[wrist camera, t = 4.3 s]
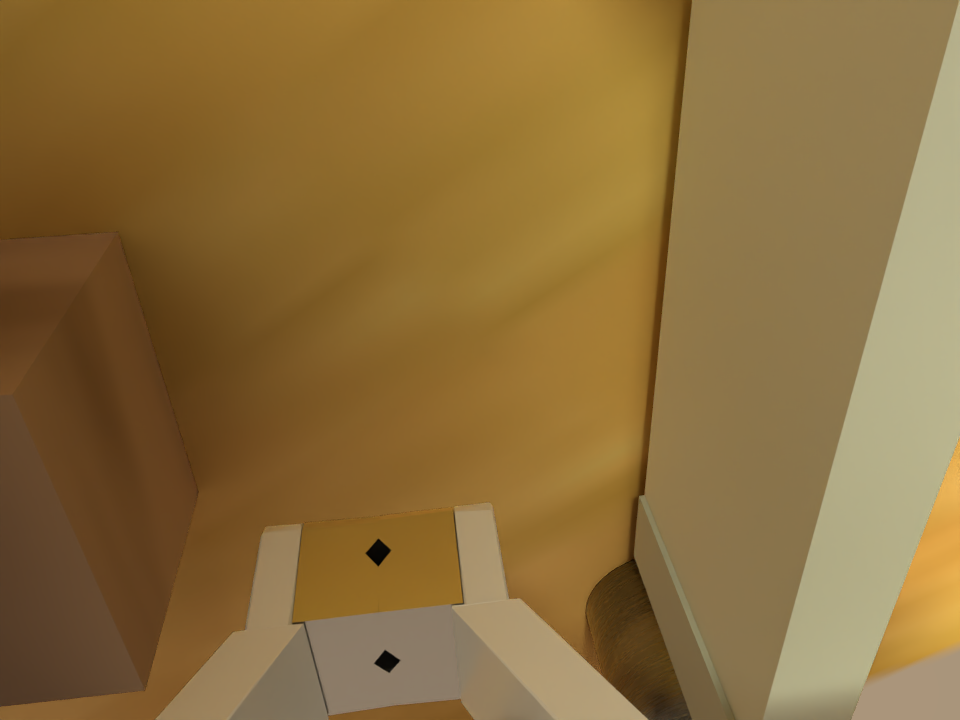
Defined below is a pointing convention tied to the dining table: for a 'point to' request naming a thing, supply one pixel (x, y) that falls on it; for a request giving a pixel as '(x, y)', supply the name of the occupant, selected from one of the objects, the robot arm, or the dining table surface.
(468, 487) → the dining table surface
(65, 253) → the walnut block
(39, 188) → the dining table surface
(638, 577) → the gate posts
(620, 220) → the dining table surface
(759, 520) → the bar
